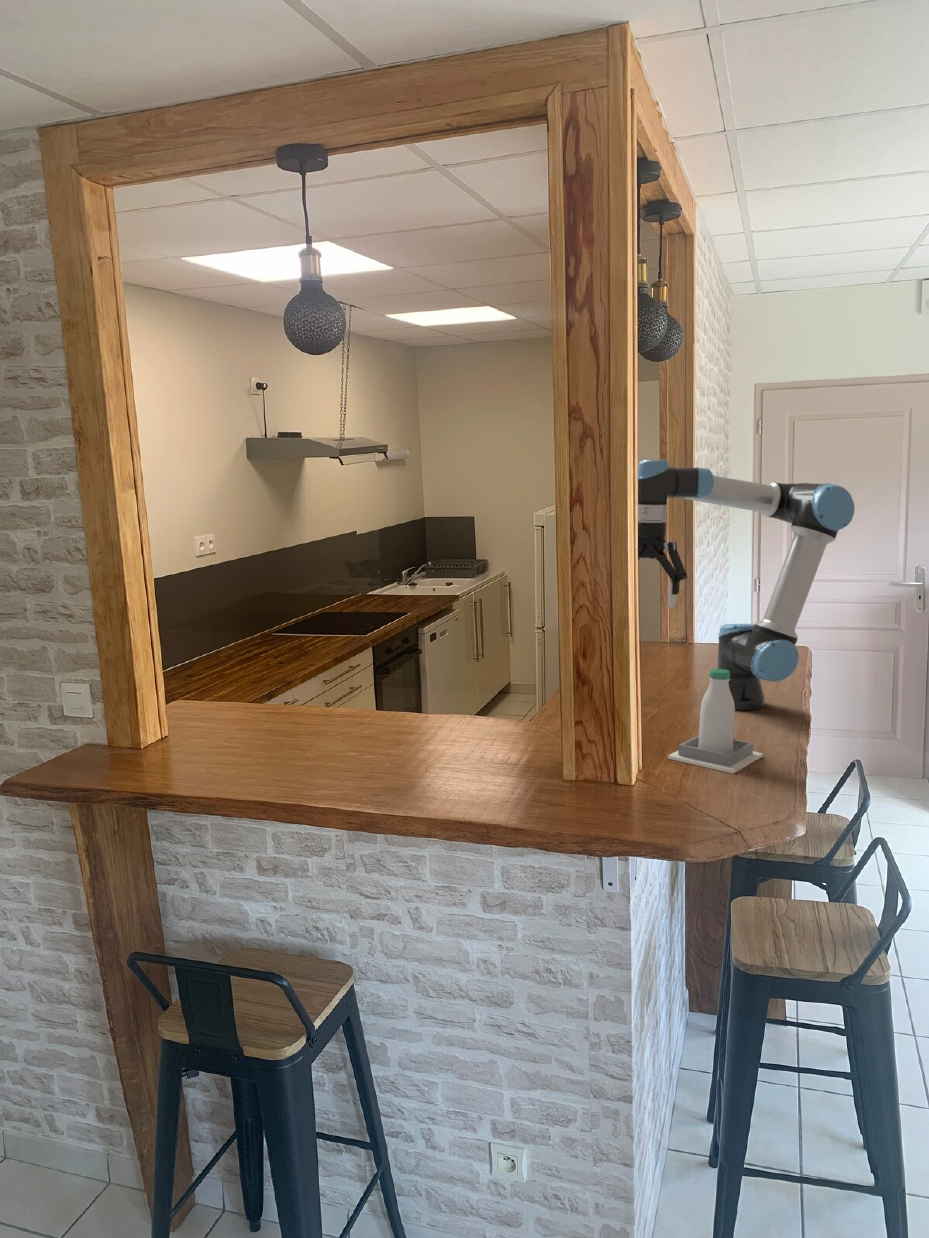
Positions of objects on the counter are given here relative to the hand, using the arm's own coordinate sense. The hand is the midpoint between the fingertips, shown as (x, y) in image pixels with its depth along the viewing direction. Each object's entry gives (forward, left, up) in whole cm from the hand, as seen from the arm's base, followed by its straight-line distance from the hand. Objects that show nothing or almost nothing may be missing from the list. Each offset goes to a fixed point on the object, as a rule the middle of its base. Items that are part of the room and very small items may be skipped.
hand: (647, 604), depth 239 cm
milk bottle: (+14, +27, -31) cm, 43 cm away
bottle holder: (+14, +27, -32) cm, 44 cm away
